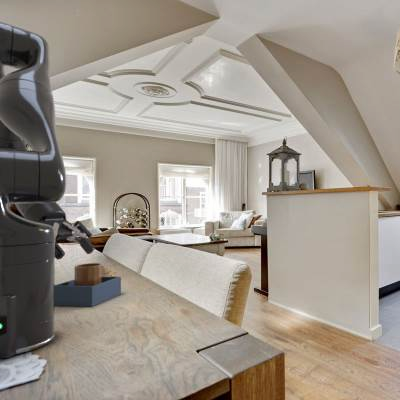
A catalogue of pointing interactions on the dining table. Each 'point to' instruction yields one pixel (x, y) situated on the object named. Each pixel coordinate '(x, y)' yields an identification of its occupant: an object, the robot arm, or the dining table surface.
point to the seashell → (107, 272)
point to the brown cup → (88, 274)
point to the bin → (86, 292)
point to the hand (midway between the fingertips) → (77, 254)
